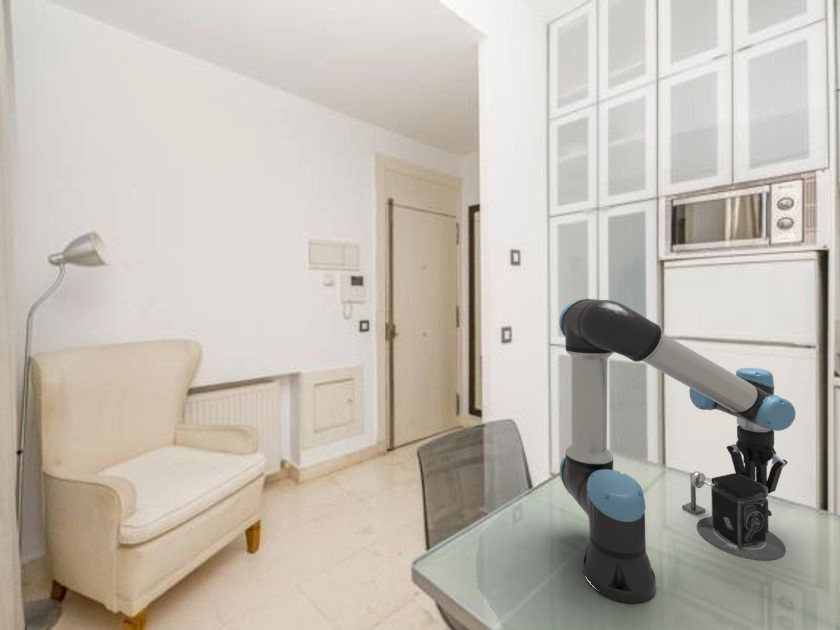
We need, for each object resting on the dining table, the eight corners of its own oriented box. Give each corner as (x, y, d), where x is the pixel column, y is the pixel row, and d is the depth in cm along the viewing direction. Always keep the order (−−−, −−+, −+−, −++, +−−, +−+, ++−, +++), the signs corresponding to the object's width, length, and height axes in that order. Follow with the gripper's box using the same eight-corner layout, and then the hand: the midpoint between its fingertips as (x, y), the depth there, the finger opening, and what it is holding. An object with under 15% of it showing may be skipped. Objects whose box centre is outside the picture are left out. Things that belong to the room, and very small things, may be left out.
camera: (780, 545, 99) (779, 487, 98) (744, 552, 97) (743, 493, 96) (740, 521, 109) (739, 468, 108) (707, 527, 108) (705, 474, 107)
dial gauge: (712, 524, 109) (711, 481, 109) (681, 509, 117) (680, 469, 117) (722, 519, 111) (721, 477, 110) (691, 505, 119) (690, 465, 118)
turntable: (757, 569, 92) (757, 568, 92) (681, 528, 109) (681, 527, 109) (802, 546, 98) (801, 545, 98) (723, 510, 115) (723, 509, 115)
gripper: (794, 432, 100) (794, 521, 101) (736, 417, 112) (737, 498, 114) (776, 438, 97) (777, 530, 99) (719, 422, 109) (720, 504, 111)
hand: (756, 512), depth 106 cm, fingers closed
